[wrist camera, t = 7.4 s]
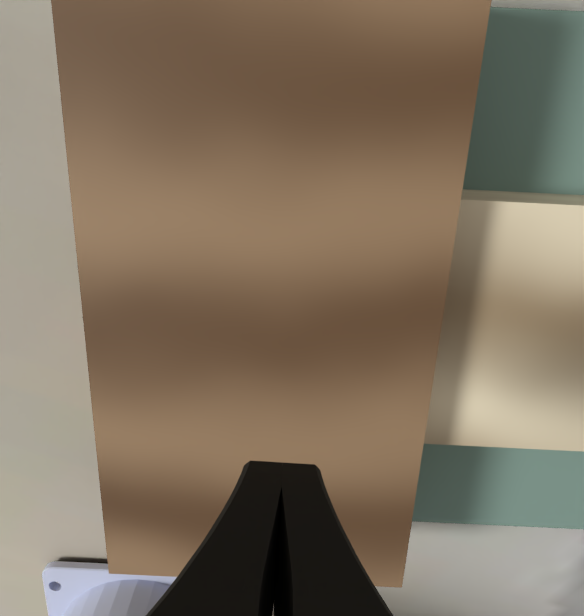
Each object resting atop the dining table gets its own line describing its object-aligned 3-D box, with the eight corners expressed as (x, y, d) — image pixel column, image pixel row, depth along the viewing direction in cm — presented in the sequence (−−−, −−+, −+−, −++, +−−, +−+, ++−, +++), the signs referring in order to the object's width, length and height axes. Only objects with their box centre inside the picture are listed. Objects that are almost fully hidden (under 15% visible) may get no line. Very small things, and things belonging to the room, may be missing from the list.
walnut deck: (386, 514, 22) (401, 587, 19) (137, 503, 22) (109, 573, 19) (453, 7, 16) (493, -17, 12) (100, -9, 16) (47, -38, 12)
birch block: (627, 421, 20) (661, 455, 18) (407, 410, 20) (418, 443, 18) (696, 200, 17) (744, 213, 15) (438, 188, 17) (455, 199, 15)
